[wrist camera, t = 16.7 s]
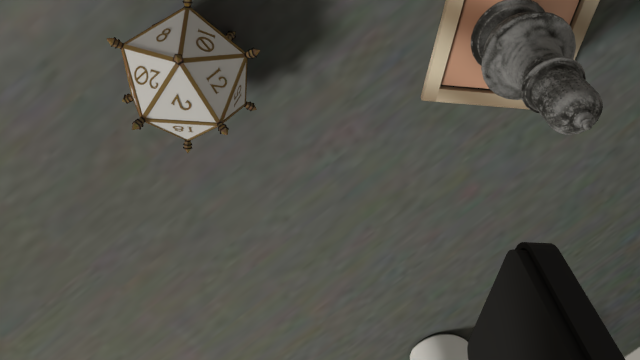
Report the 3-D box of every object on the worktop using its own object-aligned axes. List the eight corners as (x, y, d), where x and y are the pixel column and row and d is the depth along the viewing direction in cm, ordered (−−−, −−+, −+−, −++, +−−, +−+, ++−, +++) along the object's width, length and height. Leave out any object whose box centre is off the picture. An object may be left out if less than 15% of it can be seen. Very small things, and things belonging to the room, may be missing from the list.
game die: (183, 49, 41) (85, 138, 35) (173, -55, 34) (49, 37, 28) (287, 105, 39) (201, 207, 34) (300, 8, 32) (193, 118, 27)
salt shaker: (474, -8, 36) (548, 76, 26) (563, -8, 36) (668, 74, 27) (459, 76, 39) (519, 177, 30) (540, 75, 40) (626, 174, 30)
